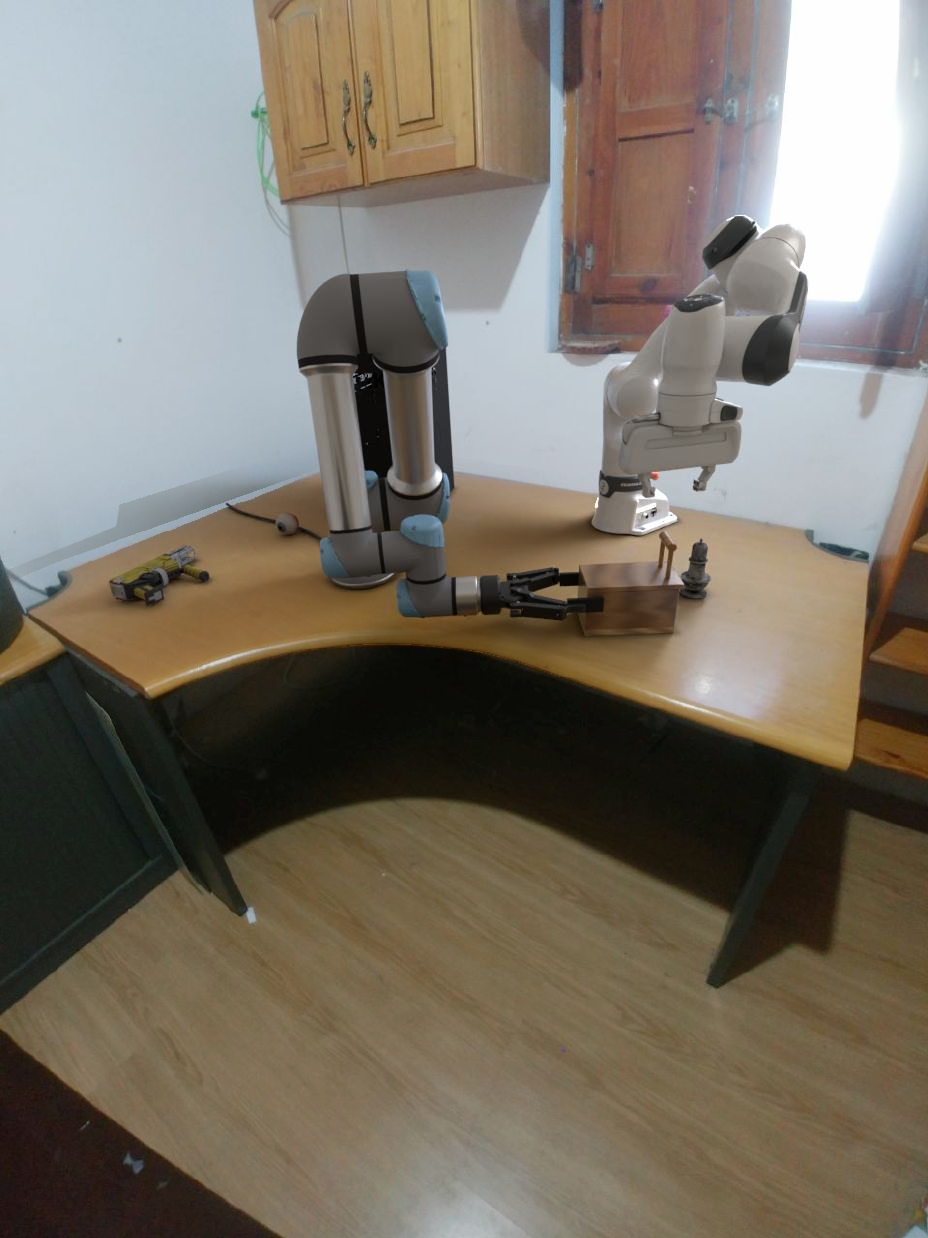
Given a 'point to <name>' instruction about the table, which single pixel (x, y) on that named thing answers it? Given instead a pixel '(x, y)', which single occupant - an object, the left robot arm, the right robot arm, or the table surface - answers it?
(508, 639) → the table surface
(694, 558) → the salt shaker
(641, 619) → the chest
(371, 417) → the black computer tower
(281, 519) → the eyeball
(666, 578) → the lid
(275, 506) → the table surface
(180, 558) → the toy gun
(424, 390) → the left robot arm
